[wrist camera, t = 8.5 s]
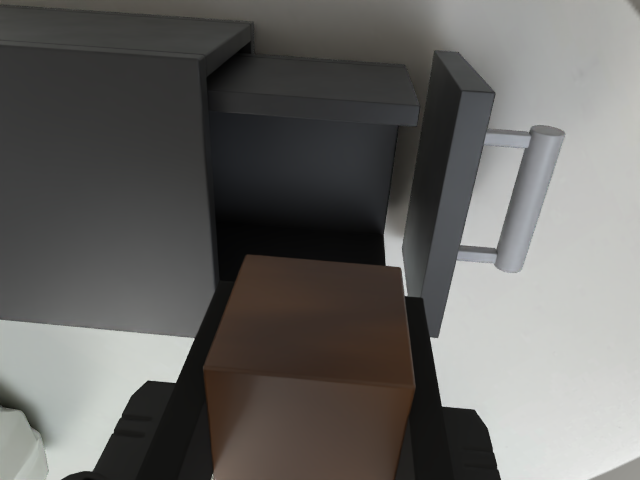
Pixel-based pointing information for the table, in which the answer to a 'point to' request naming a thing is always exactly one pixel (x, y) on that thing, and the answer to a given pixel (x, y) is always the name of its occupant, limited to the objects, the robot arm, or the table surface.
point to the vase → (20, 448)
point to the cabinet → (109, 167)
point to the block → (310, 372)
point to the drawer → (362, 166)
